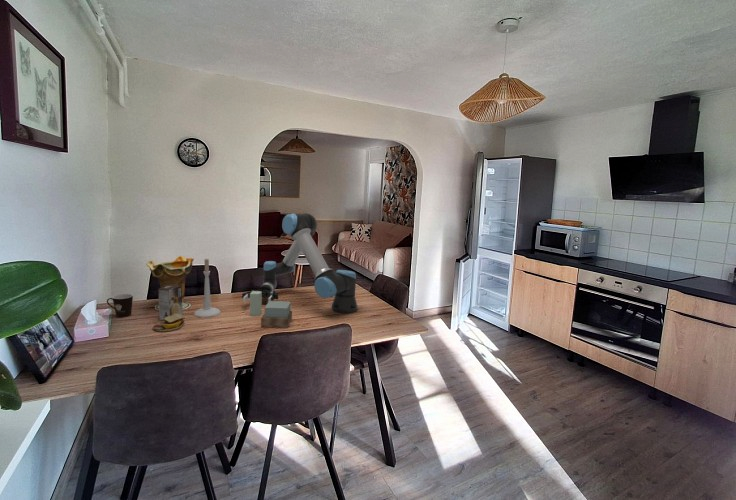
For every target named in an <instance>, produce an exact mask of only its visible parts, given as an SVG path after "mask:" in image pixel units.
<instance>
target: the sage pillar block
mask: <svg viewBox="0 0 736 500" xmlns="http://www.w3.org/2000/svg"><path fill="white" fill-rule="evenodd" d="M262 299H263V297H262V291H258V290H254V291H252V292H251V293H250V298H249V316H255V317H256V316H259V317H260V315H261V314H262V311H263V310H262V308H263V307H262V305H263V304H262V303H263V301H262Z"/></svg>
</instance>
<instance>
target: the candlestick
mask: <svg viewBox="0 0 736 500" xmlns="http://www.w3.org/2000/svg"><path fill="white" fill-rule="evenodd" d="M209 267H210V260H209V258H205V259H204V271H202V272H203V274H204V277H205V278H204V291H203V293H204V294H203V307H202V308H199V309H198V308H197V310H195V311H194V312H193V316H195V317H197V318H213V317H216V316H218V315H220V314H221V310H220V309H219V308H217V307H212V304H211V290H210V289H211V287H210V275H211V274H210V273H211V271H210V268H209Z"/></svg>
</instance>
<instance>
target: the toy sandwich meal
mask: <svg viewBox="0 0 736 500" xmlns="http://www.w3.org/2000/svg"><path fill="white" fill-rule="evenodd" d="M184 324H185V319H184V316H183V315H180V314H174V315H171V316H168V317H166V318H163V320H162V321H160V322H157V323H155V324H154V325H153V326H152V329H153V330H154V331H157V332H160V333H161V332H163V333H166V332H172V331H176V330H178V329H180V328H181V327H182V326H183V325H184Z"/></svg>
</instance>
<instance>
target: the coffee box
mask: <svg viewBox="0 0 736 500" xmlns="http://www.w3.org/2000/svg"><path fill="white" fill-rule="evenodd" d="M157 291H158V305H159V310H158V311H159V314H158V315H159V320H162V321H164V320H163V318H166V317H168V316H171V315H174V314H180V315H182V316H183V314H184V313H183V310H184V309H183V310H182V302H183V301H182V286H180V285H168V286H165V287H162V288H161V287H160V288H157Z"/></svg>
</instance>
